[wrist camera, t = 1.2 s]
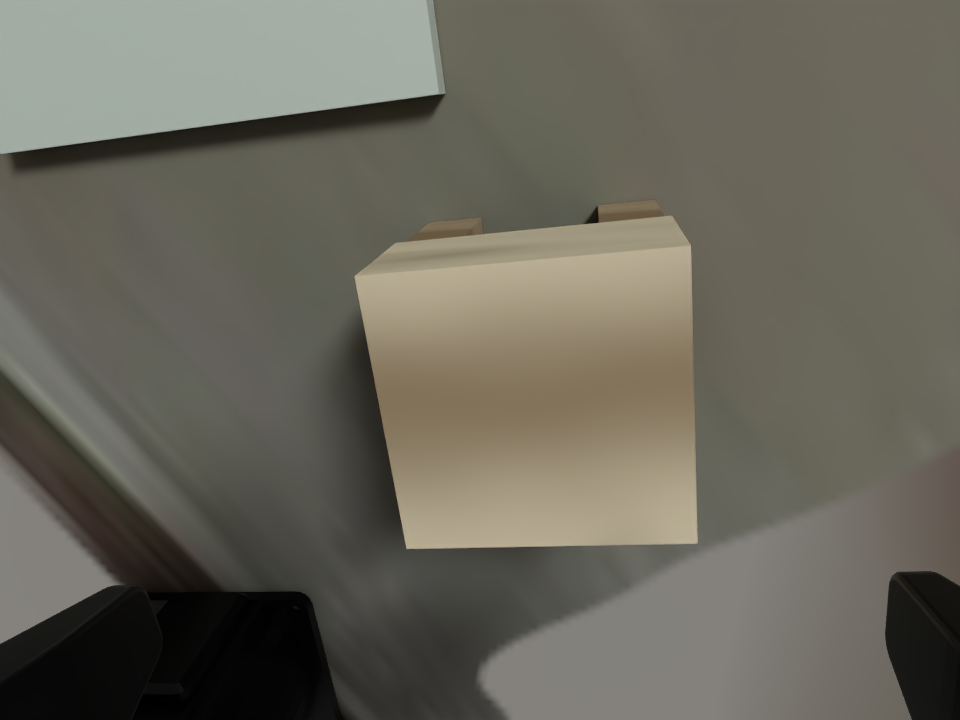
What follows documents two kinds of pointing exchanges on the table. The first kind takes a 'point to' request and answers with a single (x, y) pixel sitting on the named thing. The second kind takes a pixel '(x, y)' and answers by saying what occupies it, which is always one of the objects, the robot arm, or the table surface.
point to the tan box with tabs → (538, 381)
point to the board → (202, 63)
